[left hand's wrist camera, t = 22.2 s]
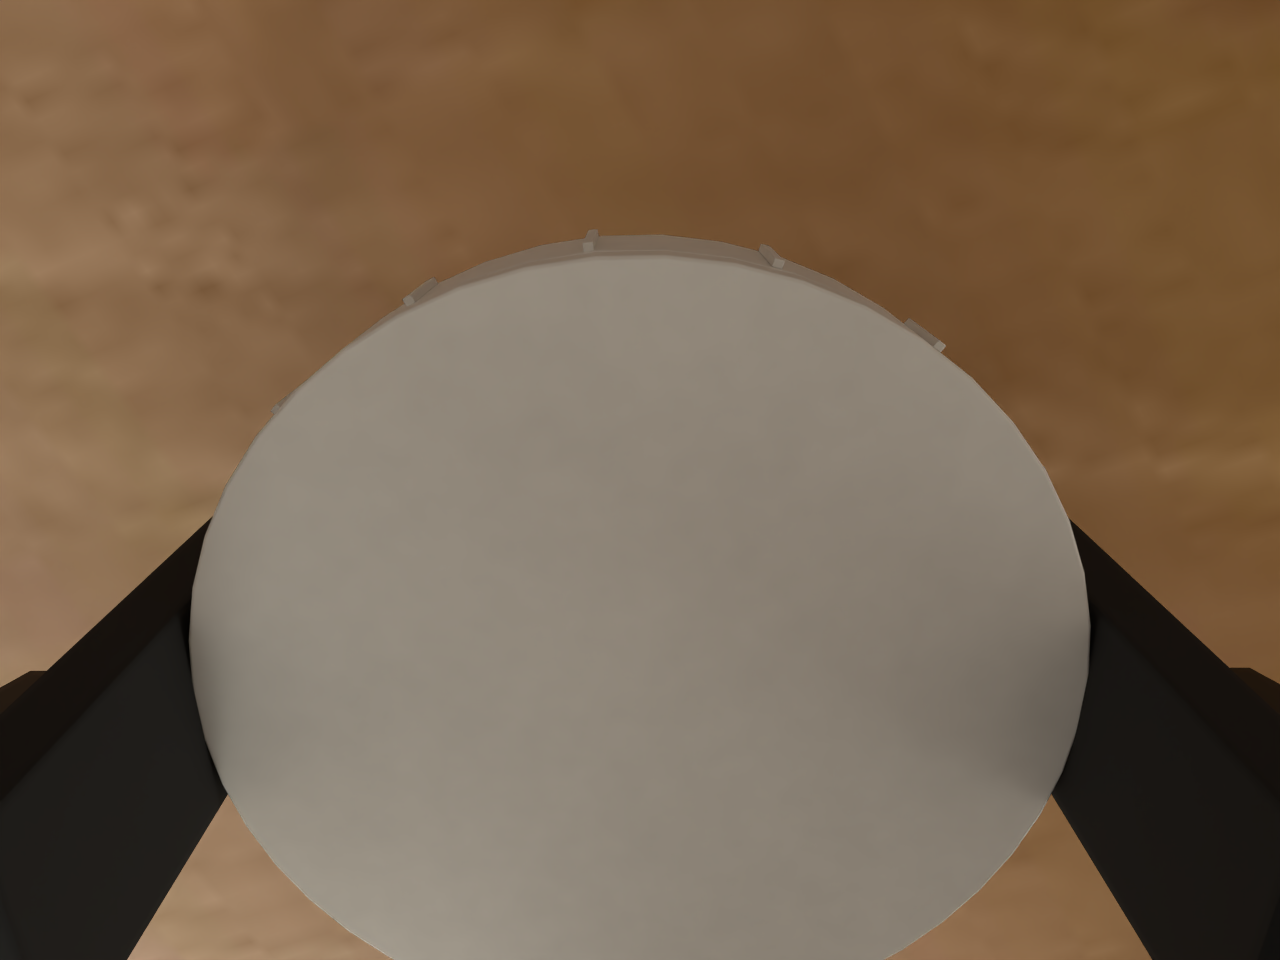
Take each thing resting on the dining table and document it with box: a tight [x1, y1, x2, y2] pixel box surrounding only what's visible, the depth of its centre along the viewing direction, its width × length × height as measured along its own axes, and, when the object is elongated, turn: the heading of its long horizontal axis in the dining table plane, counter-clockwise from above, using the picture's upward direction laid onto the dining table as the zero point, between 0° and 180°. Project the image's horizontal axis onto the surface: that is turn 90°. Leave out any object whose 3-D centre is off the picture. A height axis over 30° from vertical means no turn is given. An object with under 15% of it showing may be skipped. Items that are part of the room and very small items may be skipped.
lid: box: [189, 229, 1091, 960], centre depth 11 cm, size 10×10×2 cm
